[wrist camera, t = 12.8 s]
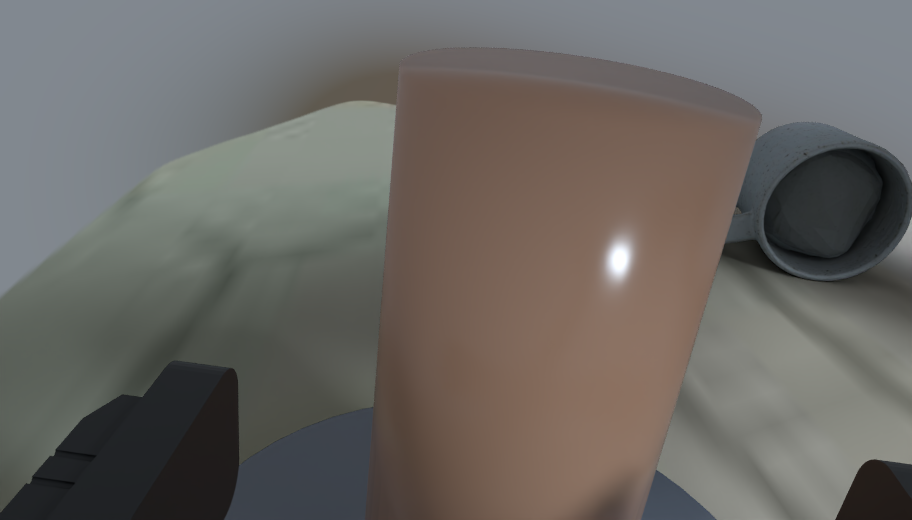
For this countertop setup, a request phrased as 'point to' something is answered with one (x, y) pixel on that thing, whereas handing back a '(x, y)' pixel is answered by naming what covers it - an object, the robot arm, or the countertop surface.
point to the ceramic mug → (822, 201)
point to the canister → (543, 280)
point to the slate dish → (361, 478)
